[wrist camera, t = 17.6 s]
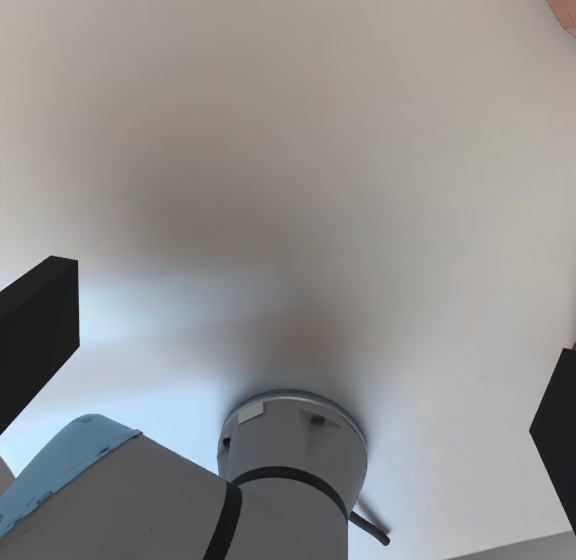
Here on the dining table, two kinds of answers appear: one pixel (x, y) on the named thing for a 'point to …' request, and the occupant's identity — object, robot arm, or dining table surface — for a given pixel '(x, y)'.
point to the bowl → (565, 14)
